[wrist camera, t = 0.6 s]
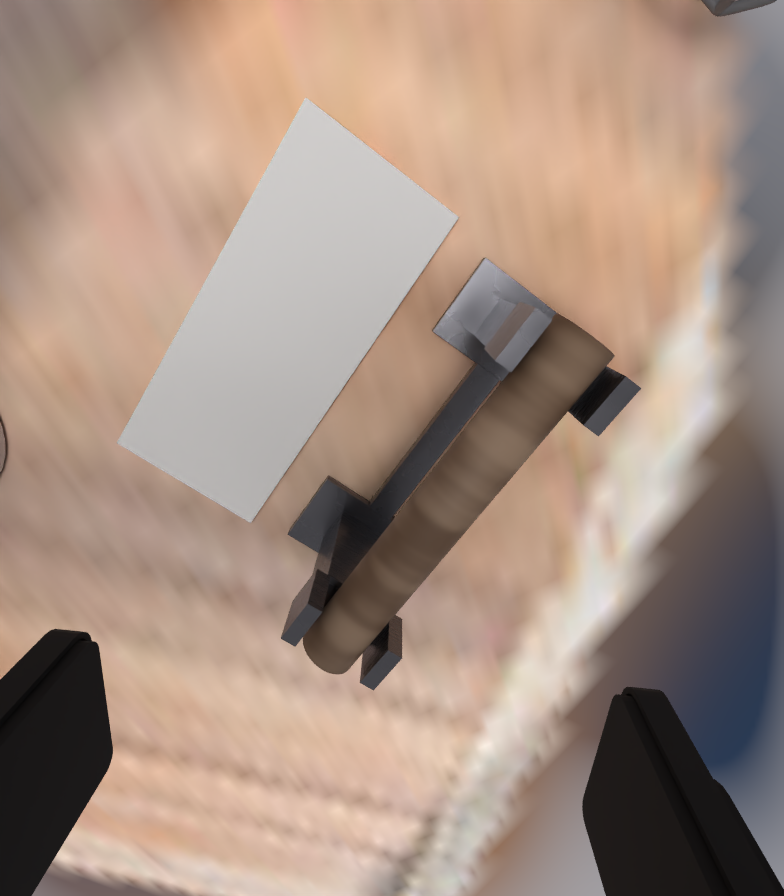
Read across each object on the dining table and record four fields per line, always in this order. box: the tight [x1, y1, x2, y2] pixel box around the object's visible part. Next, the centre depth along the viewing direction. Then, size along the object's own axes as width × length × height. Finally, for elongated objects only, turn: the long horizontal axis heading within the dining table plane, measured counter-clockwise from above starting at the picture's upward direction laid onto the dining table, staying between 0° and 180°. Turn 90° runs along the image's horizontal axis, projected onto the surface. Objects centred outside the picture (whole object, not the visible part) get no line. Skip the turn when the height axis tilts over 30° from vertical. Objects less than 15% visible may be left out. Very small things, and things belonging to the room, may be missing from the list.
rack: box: [281, 258, 641, 690], centre depth 34 cm, size 26×10×14 cm, turn 145°
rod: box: [303, 314, 614, 674], centre depth 30 cm, size 24×4×4 cm, turn 145°
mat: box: [117, 98, 459, 523], centre depth 38 cm, size 28×12×1 cm, turn 145°
